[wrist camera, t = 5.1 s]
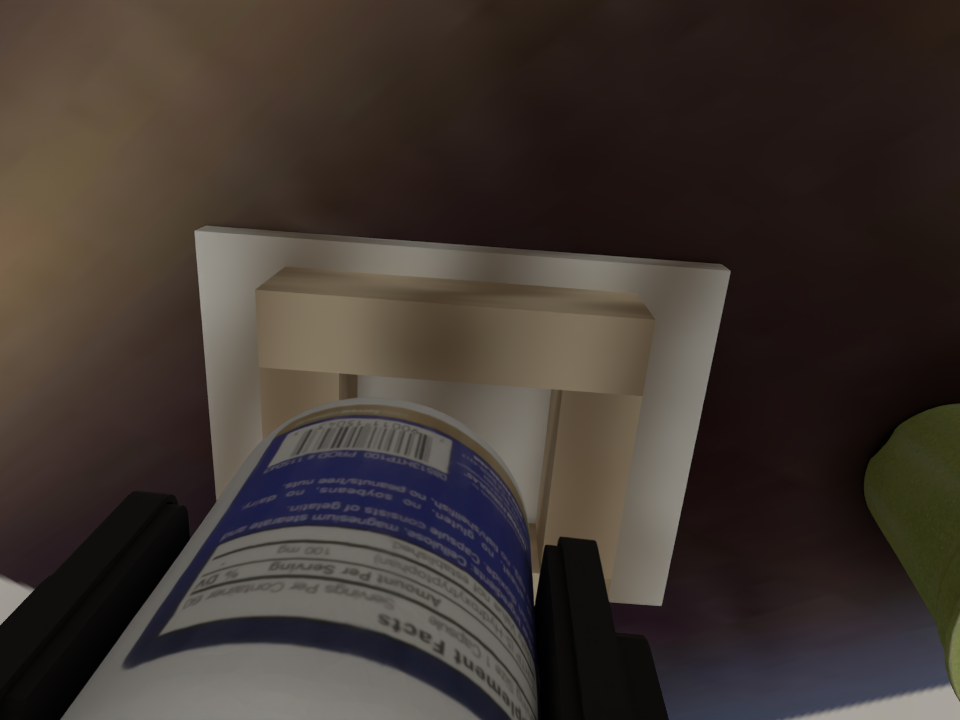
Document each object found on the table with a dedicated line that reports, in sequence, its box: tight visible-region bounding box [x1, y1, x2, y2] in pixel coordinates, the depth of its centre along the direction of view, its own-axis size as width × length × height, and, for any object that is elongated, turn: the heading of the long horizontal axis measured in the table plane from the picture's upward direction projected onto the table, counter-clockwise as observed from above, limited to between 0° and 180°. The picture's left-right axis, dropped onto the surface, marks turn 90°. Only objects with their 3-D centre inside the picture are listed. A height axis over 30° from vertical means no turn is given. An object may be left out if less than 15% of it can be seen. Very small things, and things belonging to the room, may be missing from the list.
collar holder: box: [195, 226, 731, 606], centre depth 24 cm, size 18×14×4 cm
